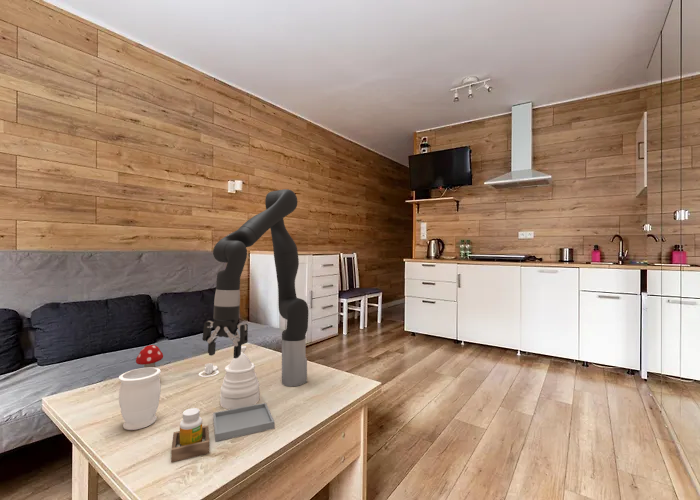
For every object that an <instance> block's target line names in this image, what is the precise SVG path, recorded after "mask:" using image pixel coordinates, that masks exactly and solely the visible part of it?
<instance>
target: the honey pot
mask: <svg viewBox="0 0 700 500" xmlns="http://www.w3.org/2000/svg"><path fill="white" fill-rule="evenodd" d="M246 350H247V346H246V345H241V355H240V356H239V357H238V358H234V357H233V358H232V359H231V361H230V362H229V364H227V365H225V366H224V371H225V375H224V377H223V381H222V384H221V385H220V388H219V389H220V391H219V392H220V395H219V397H220V401H219V402H220V407H221V408H223V409H226V410H230V409H235V408H240V407H246V406H251V405H256V404H258V403H259V401H260V394H261V393H260V391H261V390H260V385H261V384H260V382H259V380H258V377H257V373H256V371H255V368H256V365H255V363H254V362H252V361H251V359H250V358H249V356H247V354H246V353H245V352H246Z"/></svg>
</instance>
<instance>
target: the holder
mask: <svg viewBox="0 0 700 500" xmlns="http://www.w3.org/2000/svg"><path fill="white" fill-rule="evenodd" d="M203 439H204V441H203ZM171 442H172V443H171V449H170V451H171V452H170V454H171V455H170V457H171V458H170V460H171V463H173V462H177V461H182V460H186V459H187V460H188V459H190V458H195V457H199V456H204V455H208V454H210V429H209V424H208V425H202V442H198V443H193V444H189V445H184V446H180V430H179V431H173V435H172V441H171ZM177 445H179V446H177Z"/></svg>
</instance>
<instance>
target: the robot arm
mask: <svg viewBox="0 0 700 500" xmlns="http://www.w3.org/2000/svg"><path fill="white" fill-rule="evenodd" d="M264 203H265V210H263V211H261V212H259V213H257V214H256V215H254V216H252V217H251V218H249V219H248V220H246V221H245V222H244V223H243V224H242V225H241V226H240V227H239V228H238V229H237V230H235V231H232V232H230V233H229V234H227V235H226V236H224V237H222V238H221V239H220V240H218V241H217V242H216V243H215V244H214V247H213V250H212V255H213V258H214V259H215V260H216V261H218V262H220V263H223V264H224V263H226V266H225V269H224V270H220V271H218V272H217V274H216V282H215V283H216V284H215V285H216V286H215V294H214V301H213V303H214V304H213V320H214V321H212V320H207V321H204V324H203V331H202V332H203V333H202V341H204V342H207V353H208V356H211V357H212V356H214V355H216V347H217V344H216V343H217V342H216V340H217V339H219V338H222V337H223V338H226V339H227V338H229V340H230V341H231V342H232V343H233V344H234V347H233V358H238V357H239V356H240V355H241V346H244V345H245V344H246V343H247V344H248V341H249V339H248V338H249V334H248V331H249V329H248V327H249V326H248V323H244V324H243V323H242V324H239V318H240V306H241V290H240V289H241V288H240V287H241V276H242V273H243V271H244V268H245V264H246V262H247V258H248V250H247V248H250V247H252V246H253V245H254V244H256V242H258V240H259V239H261V237H263V236H264V234H265V233H266V232H267V231H269V230H270V234H271V241H272V247H273V251H272V252H273V259H274V266H275V274H276V280H277V288H278V289H277V293H278V294H277V295H278V296H277V297H278V300H277V301H278V302H277V303H278V304H277V305H278V312H279V314H280V316H281V317H282V318H283V319H284V320H286V329H284V330H283V331H282V333H281V385H283V386H286V387H297V386H301V385H303V384H306V383H307V382H308V357H307V356H306V347H307V346H306V345H307V344H306V338H307V337H306V334H307V331H308V328H309V305H308V303H307V302H306V301H305V300H304V299H302V298H299V297H297V292H296V277H297V274H298V270H299V261H300V259H299V252H298V247H297V244H296V242H295V240H294V239H293V238H292V236H291V235H290V233H289V232H288V230H287V228H286V225H285V221H284V218H285V217H287V216H289V215H290V214H292V213H293V212H295V210H296V209H297V206H298V197H297V195H296V193H295V192H294V191H293V190H291V189H289V188H287V189H286V188H285V189H278V190H271V191H270V192H268V193H267V194H266V196H265V201H264ZM212 329H214V330H213V331H212Z"/></svg>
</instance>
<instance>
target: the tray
mask: <svg viewBox="0 0 700 500" xmlns="http://www.w3.org/2000/svg"><path fill="white" fill-rule="evenodd" d="M212 413H213V414H212V416H213V417H212V421H213V430H214V440H215V443H216V442H220V441H225V440H229V439H234V438H238V437H242V436H248V435H252V434H257V433H261V432H265V431H269V430H270V431H271V430H273V429H275V420H274V417H273V415H272V412H271V411H270V408H269V406H268V404H267V402H263V403H256V404H255V405H251V406H246V407H240V408H235V409H226V410H219V411H215V412H212Z"/></svg>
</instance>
